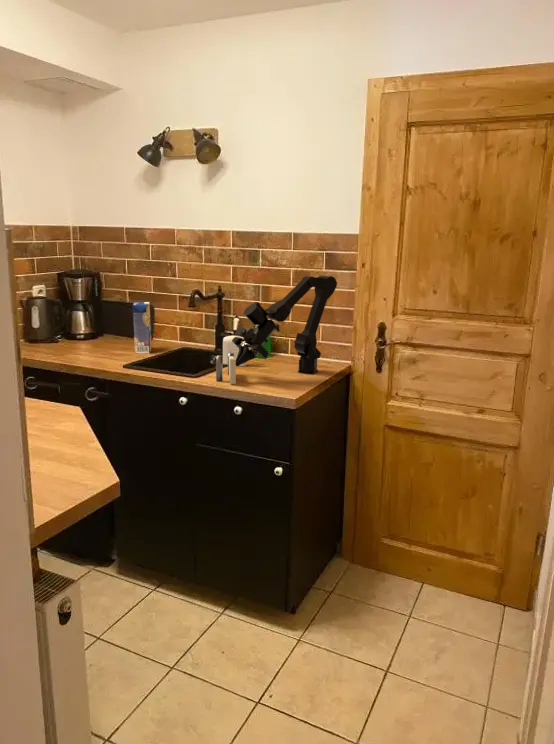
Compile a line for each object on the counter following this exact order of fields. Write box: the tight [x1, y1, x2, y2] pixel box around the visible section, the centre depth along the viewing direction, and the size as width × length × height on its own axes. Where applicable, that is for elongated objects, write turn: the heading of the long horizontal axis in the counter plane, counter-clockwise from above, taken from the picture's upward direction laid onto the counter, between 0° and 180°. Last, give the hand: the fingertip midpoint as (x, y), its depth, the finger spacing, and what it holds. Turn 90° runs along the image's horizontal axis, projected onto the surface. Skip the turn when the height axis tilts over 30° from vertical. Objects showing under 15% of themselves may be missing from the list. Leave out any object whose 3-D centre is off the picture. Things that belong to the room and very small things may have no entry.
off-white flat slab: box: [228, 356, 237, 385], centre depth 213 cm, size 14×2×9 cm, turn 7°
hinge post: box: [227, 353, 234, 376], centre depth 221 cm, size 2×2×8 cm
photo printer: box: [222, 335, 247, 367], centre depth 237 cm, size 10×4×12 cm, turn 73°
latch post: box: [215, 355, 224, 382], centre depth 211 cm, size 2×2×10 cm
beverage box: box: [132, 301, 152, 354], centre depth 261 cm, size 7×11×22 cm, turn 9°
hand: (235, 365), depth 209 cm, fingers closed
